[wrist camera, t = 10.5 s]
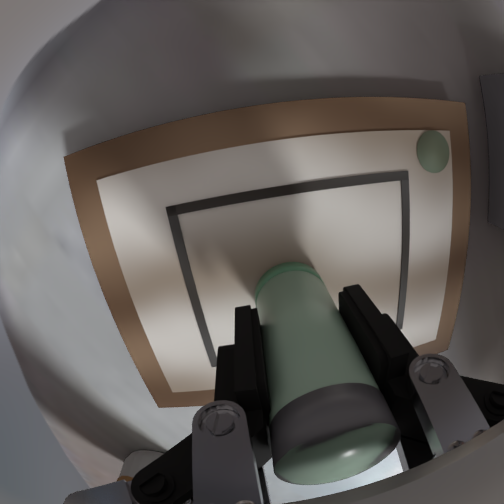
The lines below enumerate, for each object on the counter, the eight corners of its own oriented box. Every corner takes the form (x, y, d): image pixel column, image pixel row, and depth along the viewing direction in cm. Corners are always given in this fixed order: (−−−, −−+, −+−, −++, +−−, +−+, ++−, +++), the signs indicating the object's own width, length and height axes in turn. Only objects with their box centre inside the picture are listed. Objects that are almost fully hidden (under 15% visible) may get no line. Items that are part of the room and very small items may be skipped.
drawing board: (439, 339, 17) (449, 350, 15) (161, 394, 17) (158, 409, 16) (451, 103, 11) (467, 102, 10) (76, 154, 12) (61, 157, 10)
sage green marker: (325, 315, 13) (388, 465, 6) (260, 327, 13) (279, 491, 6) (321, 256, 12) (413, 405, 5) (249, 268, 12) (265, 442, 5)
